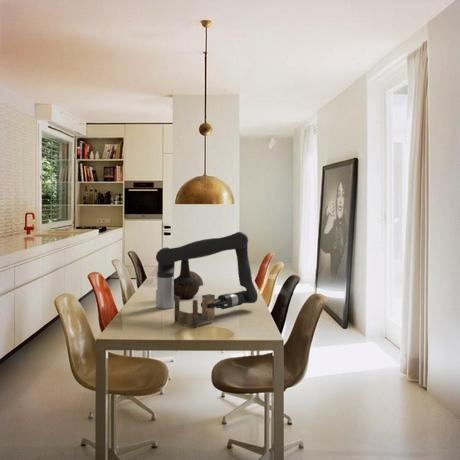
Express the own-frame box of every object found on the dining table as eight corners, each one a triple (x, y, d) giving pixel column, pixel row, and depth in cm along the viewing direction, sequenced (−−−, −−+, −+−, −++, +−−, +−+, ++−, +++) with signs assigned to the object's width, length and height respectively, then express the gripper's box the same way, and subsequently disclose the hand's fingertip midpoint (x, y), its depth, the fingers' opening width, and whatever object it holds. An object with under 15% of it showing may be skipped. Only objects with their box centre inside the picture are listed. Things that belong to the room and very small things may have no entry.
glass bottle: (190, 293, 344) (190, 249, 342) (204, 298, 329) (204, 252, 327) (165, 296, 335) (165, 251, 333) (178, 301, 320) (178, 253, 318)
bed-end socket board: (173, 322, 266) (173, 296, 265) (191, 318, 274) (191, 293, 273) (194, 328, 255) (194, 301, 254) (212, 323, 264) (212, 297, 263)
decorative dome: (200, 282, 388) (200, 268, 387) (204, 287, 368) (204, 272, 367) (173, 283, 384) (173, 269, 383) (176, 288, 365) (176, 273, 364)
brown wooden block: (202, 318, 275) (202, 295, 274) (209, 317, 278) (209, 294, 278) (207, 319, 272) (207, 296, 271) (214, 318, 276) (214, 295, 275)
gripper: (218, 292, 290) (194, 296, 277) (237, 295, 280) (214, 300, 268) (218, 306, 290) (194, 310, 278) (237, 310, 281) (214, 315, 268)
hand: (204, 305), depth 273 cm, fingers closed on brown wooden block, 4 cm apart
